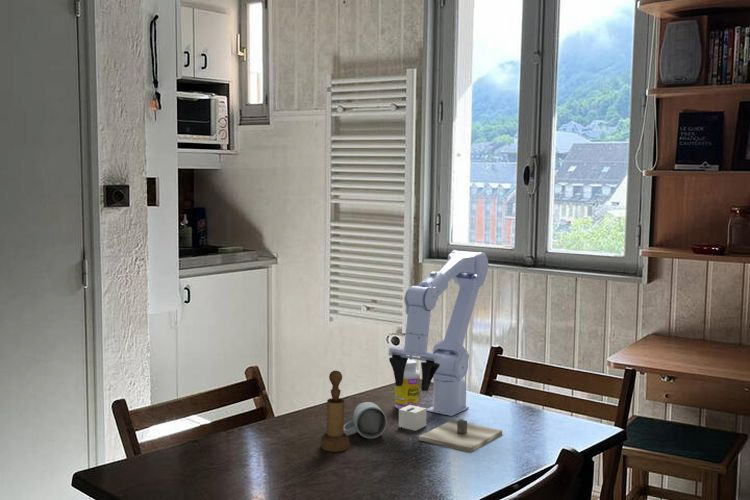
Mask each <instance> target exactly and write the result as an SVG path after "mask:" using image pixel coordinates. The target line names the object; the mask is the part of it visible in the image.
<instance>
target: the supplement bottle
mask: <svg viewBox="0 0 750 500" xmlns="http://www.w3.org/2000/svg"><path fill="white" fill-rule="evenodd" d="M417 363H418V361H416V359H410V358H408V360H407V363H406V366H405V370H404V378H403V384H402V386H396V383H395V382H394V384H395V385H394V387H395V388H394V389H395V390H394V406H395V408H396V409H398V410H399V409H401V408H404V407H406V406H408V405H413V406H417V407H420V393H421V392H420V391H421V390H420V388H421V383H420V382H421V374H420V371H419V370H418V369H417V368H416V367H417V366H418V364H417Z"/></svg>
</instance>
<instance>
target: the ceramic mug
mask: <svg viewBox="0 0 750 500" xmlns="http://www.w3.org/2000/svg"><path fill="white" fill-rule="evenodd" d="M387 424H388V419H387V416H386V414H385V412H384V411H383V410H382V409H381V407H379V406H378V404H376V403H374V402H370V401H365V402H361V403H359V404H358V405H357V406H356V407H355V409H354V411H353V417H352V420H350V421H347V422H346V423H345V424H344V432H343V433H345V434H346V435H347V436H348V437H349V436H351V435H353V434H356V433H358V434H359V435H360V436H362V437H363V438H365V439H371V440H372V439H377V438H378V437H380V436H382V435H383V434H384V433H385V431H386V428H387Z"/></svg>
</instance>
